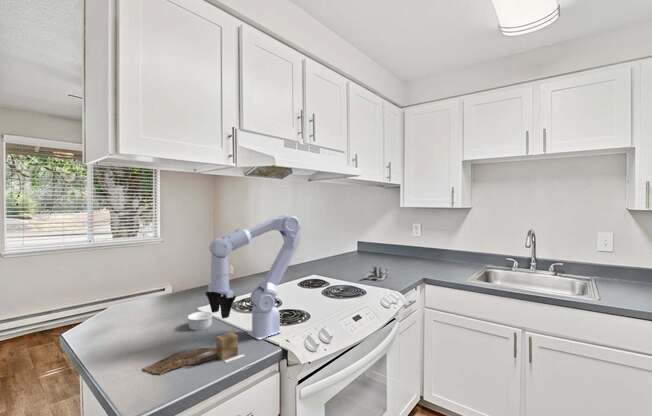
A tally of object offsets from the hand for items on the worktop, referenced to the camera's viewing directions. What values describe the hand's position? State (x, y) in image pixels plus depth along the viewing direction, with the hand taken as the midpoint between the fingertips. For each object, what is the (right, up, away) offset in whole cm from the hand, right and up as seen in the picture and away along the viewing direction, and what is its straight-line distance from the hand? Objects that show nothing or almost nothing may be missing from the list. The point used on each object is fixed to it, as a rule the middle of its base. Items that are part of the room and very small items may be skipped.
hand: (220, 314), depth 105 cm
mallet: (+3, -10, -11) cm, 15 cm away
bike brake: (+67, -9, +92) cm, 114 cm away
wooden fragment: (-5, -10, -11) cm, 15 cm away
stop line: (+8, -10, -11) cm, 17 cm away
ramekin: (-13, -10, +14) cm, 21 cm away
